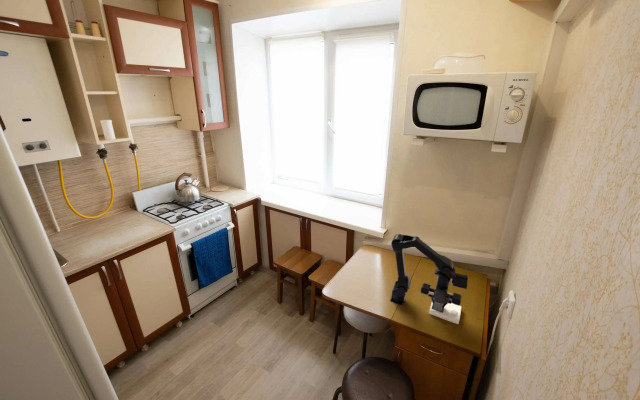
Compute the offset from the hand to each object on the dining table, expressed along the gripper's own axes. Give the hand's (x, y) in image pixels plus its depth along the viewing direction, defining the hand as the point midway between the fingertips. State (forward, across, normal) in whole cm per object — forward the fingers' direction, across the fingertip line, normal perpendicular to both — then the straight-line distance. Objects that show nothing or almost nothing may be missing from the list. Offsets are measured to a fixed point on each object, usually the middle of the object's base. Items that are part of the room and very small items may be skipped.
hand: (438, 306), depth 144 cm
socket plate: (+3, +4, +2) cm, 5 cm away
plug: (+2, 0, 0) cm, 2 cm away
